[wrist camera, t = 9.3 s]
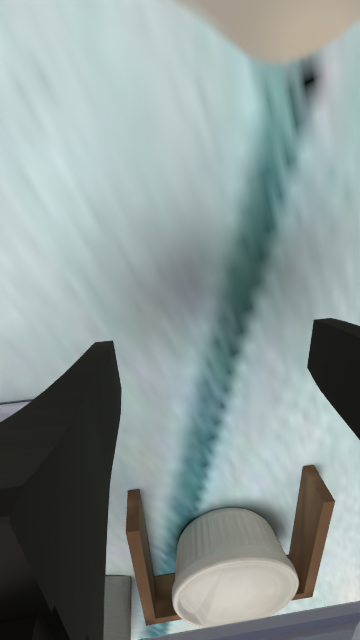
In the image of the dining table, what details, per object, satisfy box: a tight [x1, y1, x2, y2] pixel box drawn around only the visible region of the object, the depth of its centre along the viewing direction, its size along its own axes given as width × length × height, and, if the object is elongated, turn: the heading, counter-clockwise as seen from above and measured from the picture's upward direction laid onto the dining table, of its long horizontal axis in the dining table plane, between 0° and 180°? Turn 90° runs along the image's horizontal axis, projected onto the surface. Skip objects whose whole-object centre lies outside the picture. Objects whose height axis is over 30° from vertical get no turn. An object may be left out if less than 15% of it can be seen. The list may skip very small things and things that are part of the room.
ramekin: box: [172, 508, 299, 628], centre depth 29 cm, size 11×11×5 cm
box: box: [126, 465, 335, 625], centre depth 29 cm, size 17×15×4 cm
